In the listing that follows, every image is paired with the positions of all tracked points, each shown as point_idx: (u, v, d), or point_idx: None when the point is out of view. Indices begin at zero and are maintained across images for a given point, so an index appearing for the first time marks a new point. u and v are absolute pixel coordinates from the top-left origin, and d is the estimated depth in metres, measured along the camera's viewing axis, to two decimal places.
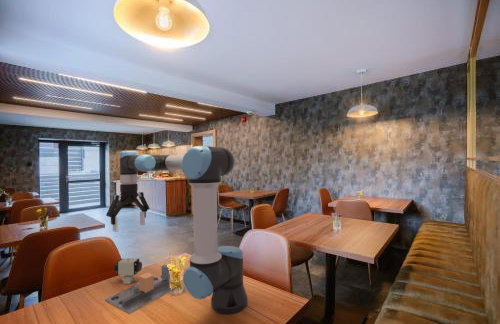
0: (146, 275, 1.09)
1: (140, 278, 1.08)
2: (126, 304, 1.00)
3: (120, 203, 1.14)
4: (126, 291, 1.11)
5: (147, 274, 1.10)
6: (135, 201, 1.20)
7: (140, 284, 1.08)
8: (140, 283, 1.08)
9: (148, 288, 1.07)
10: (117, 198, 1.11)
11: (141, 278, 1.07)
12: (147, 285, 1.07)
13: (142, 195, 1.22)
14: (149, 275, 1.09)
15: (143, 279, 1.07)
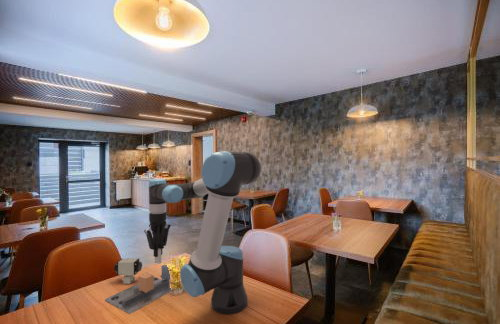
0: (146, 275, 1.09)
1: (140, 278, 1.08)
2: (126, 304, 1.00)
3: (154, 235, 1.13)
4: (126, 291, 1.11)
5: (147, 274, 1.10)
6: (160, 232, 1.15)
7: (140, 284, 1.08)
8: (140, 283, 1.08)
9: (148, 288, 1.07)
10: (149, 233, 1.09)
11: (141, 278, 1.07)
12: (147, 285, 1.07)
13: (168, 227, 1.18)
14: (149, 275, 1.09)
15: (143, 279, 1.07)
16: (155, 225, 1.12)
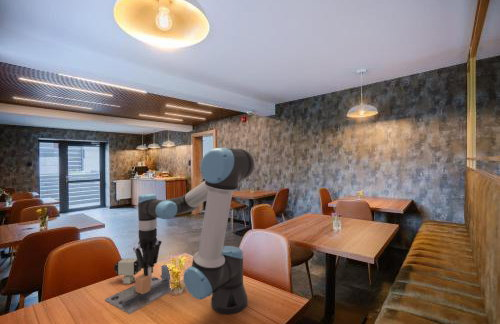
0: (143, 276, 1.08)
1: (137, 279, 1.06)
2: (126, 304, 1.00)
3: (144, 252, 1.08)
4: (126, 291, 1.11)
5: (144, 275, 1.08)
6: (150, 249, 1.10)
7: (136, 285, 1.07)
8: (137, 285, 1.06)
9: (145, 290, 1.06)
10: (138, 251, 1.05)
11: (138, 279, 1.06)
12: (144, 286, 1.05)
13: (159, 244, 1.13)
14: (146, 276, 1.07)
15: (140, 281, 1.05)
16: (145, 242, 1.07)
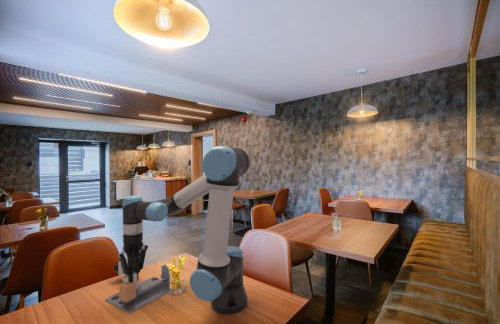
0: (128, 283, 1.02)
1: (121, 287, 1.00)
2: (126, 304, 1.00)
3: (128, 258, 1.02)
4: None
5: (129, 282, 1.03)
6: None
7: (121, 293, 1.01)
8: (121, 292, 1.00)
9: (129, 297, 1.00)
10: (122, 256, 0.99)
11: (122, 287, 1.00)
12: (128, 294, 0.99)
13: (145, 249, 1.08)
14: (131, 283, 1.01)
15: (124, 288, 0.99)
16: (129, 247, 1.01)
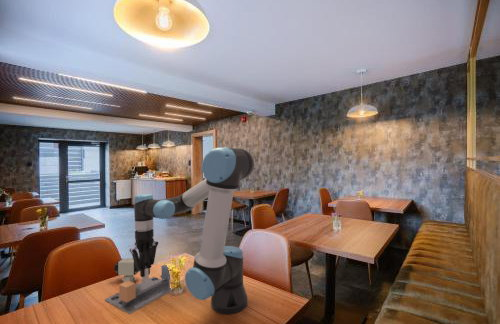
0: (128, 283, 1.02)
1: (121, 287, 1.00)
2: (126, 304, 1.00)
3: (140, 253, 1.07)
4: None
5: (128, 282, 1.02)
6: (147, 250, 1.09)
7: (120, 293, 1.00)
8: (121, 292, 1.00)
9: (129, 297, 1.00)
10: (135, 252, 1.03)
11: (122, 287, 1.00)
12: (128, 294, 0.99)
13: (156, 245, 1.12)
14: (130, 283, 1.01)
15: (124, 288, 0.99)
16: (141, 243, 1.06)
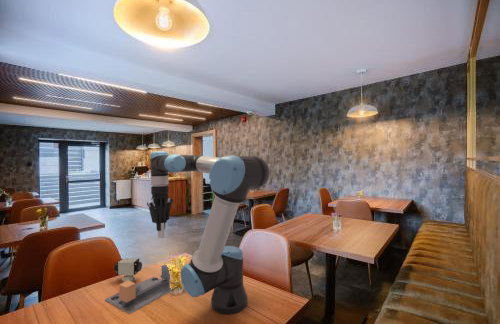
0: (128, 283, 1.02)
1: (121, 287, 1.00)
2: (126, 304, 1.00)
3: (157, 208, 1.10)
4: None
5: (128, 282, 1.02)
6: None
7: (120, 293, 1.00)
8: (121, 292, 1.00)
9: (129, 297, 1.00)
10: (152, 205, 1.07)
11: (122, 287, 1.00)
12: (128, 294, 0.99)
13: (170, 202, 1.16)
14: (130, 283, 1.01)
15: (124, 288, 0.99)
16: (158, 198, 1.10)
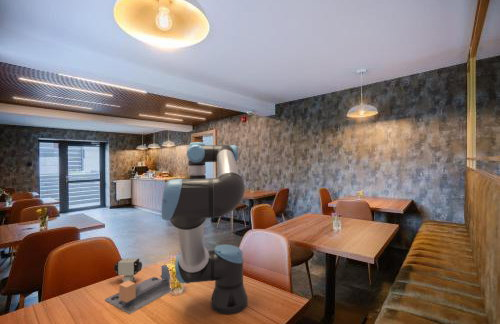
0: (128, 283, 1.02)
1: (121, 287, 1.00)
2: (126, 304, 1.00)
3: None
4: None
5: (128, 282, 1.02)
6: None
7: (120, 293, 1.00)
8: (121, 292, 1.00)
9: (129, 297, 1.00)
10: None
11: (122, 287, 1.00)
12: (128, 294, 0.99)
13: None
14: (130, 283, 1.01)
15: (124, 288, 0.99)
16: None
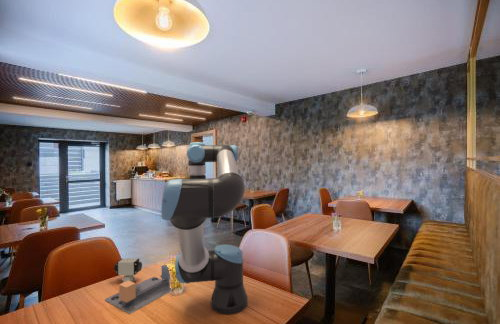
0: (128, 283, 1.02)
1: (121, 287, 1.00)
2: (126, 304, 1.00)
3: None
4: None
5: (128, 282, 1.02)
6: None
7: (120, 293, 1.00)
8: (121, 292, 1.00)
9: (129, 297, 1.00)
10: None
11: (122, 287, 1.00)
12: (128, 294, 0.99)
13: None
14: (130, 283, 1.01)
15: (124, 288, 0.99)
16: None
